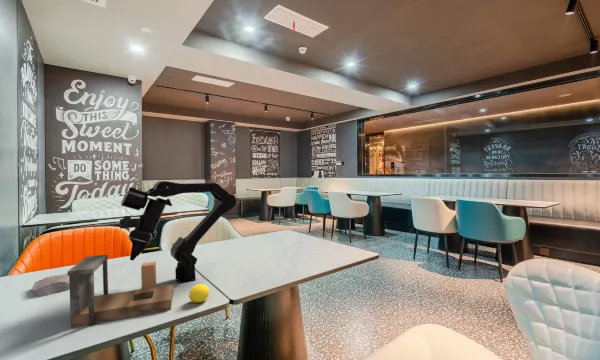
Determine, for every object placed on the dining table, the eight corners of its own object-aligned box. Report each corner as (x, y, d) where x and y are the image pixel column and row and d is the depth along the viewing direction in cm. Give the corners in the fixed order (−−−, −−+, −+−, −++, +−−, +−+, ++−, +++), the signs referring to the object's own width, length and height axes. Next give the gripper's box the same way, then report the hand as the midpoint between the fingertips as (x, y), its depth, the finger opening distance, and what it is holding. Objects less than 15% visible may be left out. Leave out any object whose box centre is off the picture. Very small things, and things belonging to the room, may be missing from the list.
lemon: (202, 297, 90) (204, 280, 91) (212, 301, 87) (214, 284, 87) (183, 302, 84) (184, 285, 85) (193, 307, 81) (195, 289, 82)
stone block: (36, 304, 90) (74, 288, 97) (31, 290, 89) (70, 276, 96) (34, 294, 98) (69, 281, 105) (29, 282, 97) (65, 269, 104)
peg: (156, 286, 98) (155, 261, 98) (155, 290, 95) (154, 264, 94) (143, 288, 97) (143, 262, 97) (141, 292, 93) (141, 266, 93)
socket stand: (173, 291, 93) (172, 247, 93) (170, 311, 80) (169, 259, 80) (88, 305, 84) (86, 256, 84) (68, 329, 71) (67, 271, 71)
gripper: (133, 207, 103) (115, 248, 100) (122, 207, 86) (99, 256, 83) (163, 216, 107) (147, 255, 104) (159, 217, 90) (139, 265, 86)
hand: (134, 257), depth 94 cm, fingers open, 9 cm apart
